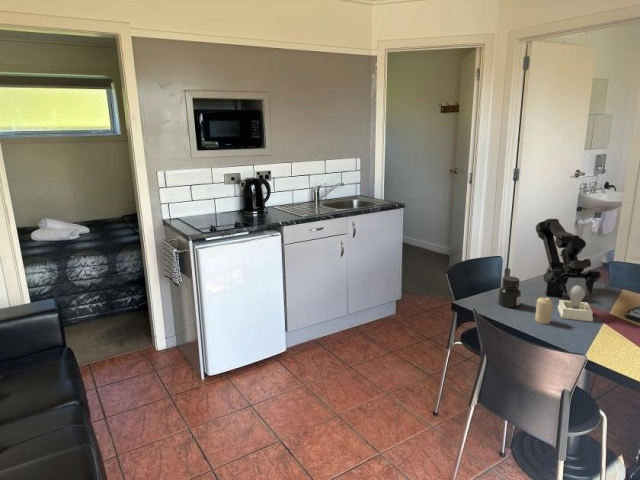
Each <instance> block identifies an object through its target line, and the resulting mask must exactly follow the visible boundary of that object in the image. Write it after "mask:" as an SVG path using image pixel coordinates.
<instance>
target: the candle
mask: <svg viewBox="0 0 640 480" xmlns="http://www.w3.org/2000/svg"><path fill="white" fill-rule="evenodd" d="M552 311H553V301H552V300H551V298H550V297H544V296H540V297H539V298H538V299H537V300H536V308H535V316H534V317H535V318H534V320H535V322H537V323H539V324H545V325H547V324H550V323H551V321H552V320H551V319H552Z"/></svg>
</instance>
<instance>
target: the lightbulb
mask: <svg viewBox="0 0 640 480" xmlns="http://www.w3.org/2000/svg"><path fill="white" fill-rule="evenodd" d="M567 295H568V297H569V298H570V301H571V305H572V306H571V309H579V305H580V302H582V300H584V298H585V296H586V290H585V289H584V288H583V287H582V286H580V285H577V284H576V285H572V286H570V287H569V288H568V290H567Z"/></svg>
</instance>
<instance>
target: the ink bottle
mask: <svg viewBox="0 0 640 480" xmlns="http://www.w3.org/2000/svg"><path fill="white" fill-rule="evenodd" d="M501 282H502V283H501V287H500V288H499V289H498V298H497V303H498V304H499V305H500V306H501V307H504V308H510V309H511V308H519V307H520V305H521V297H522V295H521V294H522V292H521V290H520V289H519V287H520V278H519V277H516V276H511V275H509V276H508V275H506V276H503V277H502V280H501Z"/></svg>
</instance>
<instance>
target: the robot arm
mask: <svg viewBox="0 0 640 480" xmlns="http://www.w3.org/2000/svg"><path fill="white" fill-rule="evenodd" d="M535 231H536V233H537V237H539V239H541V240H542V241H543V245H544V248H545V249H544V250H545V254H546V257H547V261H548V267H547V268H546V271H545V272H544V275H543V281H544V282H545V283H546V288H545V290H544V294H545V295H546V297H552V298H553V297H554V298H563V295H568V290H567V286H566V285H567V283H568V280H569V278H571V279H584V281H585V287H586V289H587V293H588V296H592V295H593V290H594V289H593V288H594V284H595V283H597V282H598V281H599V279H600V278H601V277H602V274H601V273H602V272H601V271H599V270H589V269H588V271H587V272H586V273H583V272H584V271H585V270H584V269H587V268H591V266H592V261H591V259H590V258H585V259H583V260H582V259H579V258H578V256H579V255H580V254H581V253H582V251H583V250H584V249H585V248H586V245H587V243H586V241H585V240H584V239H583V238H581V237H580V235H577V234H574V233H573V234H572V233H570V232H568V231H566V229H565V228H564V227H563V226H562V225H561V223H560V220H559V219H558V218H547V219H545V220H544V221H543V220H542V221H540V222H538V223H537V224H536V225H535ZM558 249H562V250H561V251H560V255H559V253H558ZM560 257H561V258H562V259H561V260H562V261H561V260H560Z"/></svg>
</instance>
